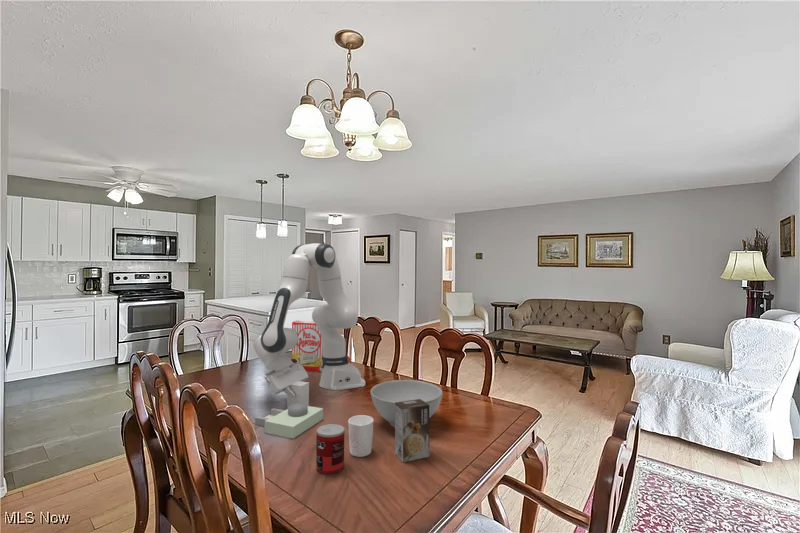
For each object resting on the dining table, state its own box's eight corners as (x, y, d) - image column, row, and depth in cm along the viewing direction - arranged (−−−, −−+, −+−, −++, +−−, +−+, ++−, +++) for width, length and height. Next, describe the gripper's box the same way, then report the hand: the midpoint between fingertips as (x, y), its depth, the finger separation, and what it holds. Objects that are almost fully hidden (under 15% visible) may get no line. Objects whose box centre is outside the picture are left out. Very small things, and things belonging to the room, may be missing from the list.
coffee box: (420, 448, 122) (421, 398, 122) (430, 457, 116) (430, 404, 116) (394, 453, 118) (394, 401, 118) (402, 463, 113) (403, 408, 113)
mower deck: (244, 428, 135) (244, 410, 135) (278, 410, 152) (278, 394, 152) (292, 438, 128) (293, 419, 128) (323, 419, 144) (323, 401, 144)
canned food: (317, 460, 113) (318, 424, 113) (344, 460, 114) (345, 423, 114) (314, 474, 106) (314, 435, 106) (343, 473, 106) (343, 434, 106)
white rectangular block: (287, 408, 155) (287, 383, 155) (294, 404, 160) (295, 380, 160) (301, 410, 152) (301, 386, 152) (308, 406, 157) (309, 382, 157)
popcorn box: (290, 370, 211) (291, 321, 211) (295, 367, 217) (296, 320, 217) (326, 372, 207) (326, 323, 207) (330, 369, 214) (330, 321, 214)
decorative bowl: (448, 414, 150) (449, 384, 150) (432, 444, 125) (432, 407, 125) (385, 405, 159) (386, 376, 159) (358, 431, 134) (358, 397, 134)
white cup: (369, 459, 115) (369, 426, 115) (344, 456, 116) (344, 423, 116) (376, 447, 122) (376, 416, 122) (352, 444, 124) (353, 414, 124)
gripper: (267, 369, 149) (287, 397, 145) (299, 358, 168) (318, 382, 164) (258, 379, 150) (277, 407, 147) (291, 367, 169) (309, 391, 166)
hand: (299, 394), depth 156 cm, fingers closed on white rectangular block, 5 cm apart
